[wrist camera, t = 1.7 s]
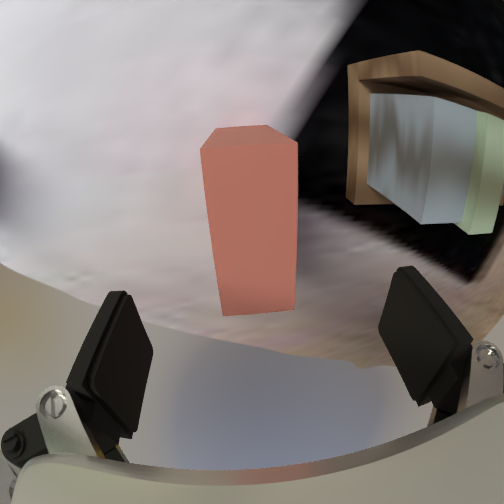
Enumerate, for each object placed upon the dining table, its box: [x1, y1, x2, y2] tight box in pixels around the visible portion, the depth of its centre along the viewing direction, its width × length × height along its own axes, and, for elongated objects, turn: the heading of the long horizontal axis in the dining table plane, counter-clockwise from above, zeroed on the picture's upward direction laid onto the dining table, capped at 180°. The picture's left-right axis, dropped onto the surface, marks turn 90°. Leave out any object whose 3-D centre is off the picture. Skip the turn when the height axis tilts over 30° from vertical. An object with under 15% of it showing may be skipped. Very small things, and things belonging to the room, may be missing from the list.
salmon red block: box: [200, 125, 298, 316], centre depth 18 cm, size 9×4×11 cm, turn 3°
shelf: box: [346, 50, 504, 235], centre depth 16 cm, size 12×23×11 cm, turn 93°
